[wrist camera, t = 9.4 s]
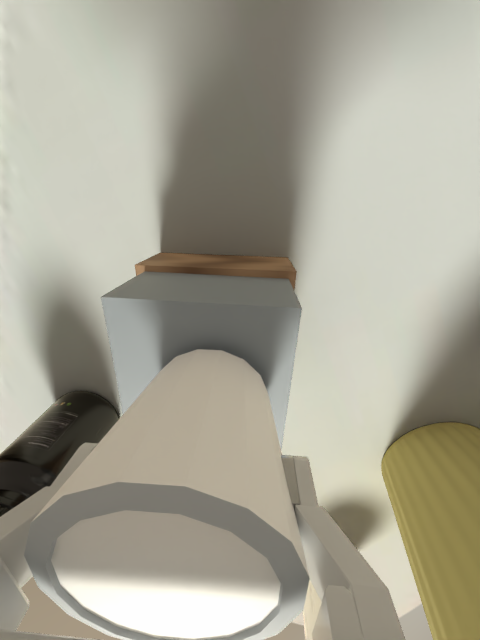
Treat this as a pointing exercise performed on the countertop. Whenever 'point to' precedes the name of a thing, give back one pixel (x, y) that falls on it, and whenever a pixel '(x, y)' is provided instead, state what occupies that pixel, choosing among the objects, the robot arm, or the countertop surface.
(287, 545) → the white piece
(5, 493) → the supplement bottle
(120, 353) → the top block
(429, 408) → the countertop surface
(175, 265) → the bottom block
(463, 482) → the potted cactus
